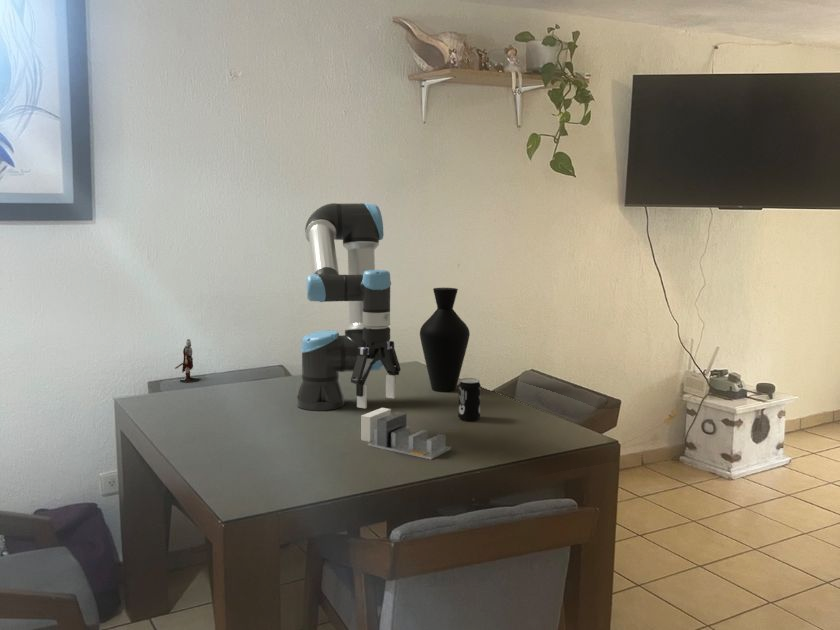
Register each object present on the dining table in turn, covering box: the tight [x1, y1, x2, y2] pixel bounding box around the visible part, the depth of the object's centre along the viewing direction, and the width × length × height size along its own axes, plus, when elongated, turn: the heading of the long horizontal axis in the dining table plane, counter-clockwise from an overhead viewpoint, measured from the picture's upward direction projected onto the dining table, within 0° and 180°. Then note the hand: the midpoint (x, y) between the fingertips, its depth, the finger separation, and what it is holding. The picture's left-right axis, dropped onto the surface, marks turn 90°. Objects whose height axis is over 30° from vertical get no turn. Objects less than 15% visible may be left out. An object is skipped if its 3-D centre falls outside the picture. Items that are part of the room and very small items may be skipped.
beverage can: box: [457, 377, 482, 422], centre depth 239 cm, size 7×7×12 cm
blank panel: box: [360, 407, 392, 443], centre depth 222 cm, size 3×10×7 cm, turn 148°
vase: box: [419, 287, 471, 393], centre depth 273 cm, size 17×17×35 cm
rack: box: [367, 411, 452, 460], centre depth 212 cm, size 20×10×8 cm, turn 58°
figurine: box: [174, 339, 200, 384], centre depth 283 cm, size 7×7×15 cm
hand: (376, 402), depth 220 cm, fingers open, 13 cm apart
